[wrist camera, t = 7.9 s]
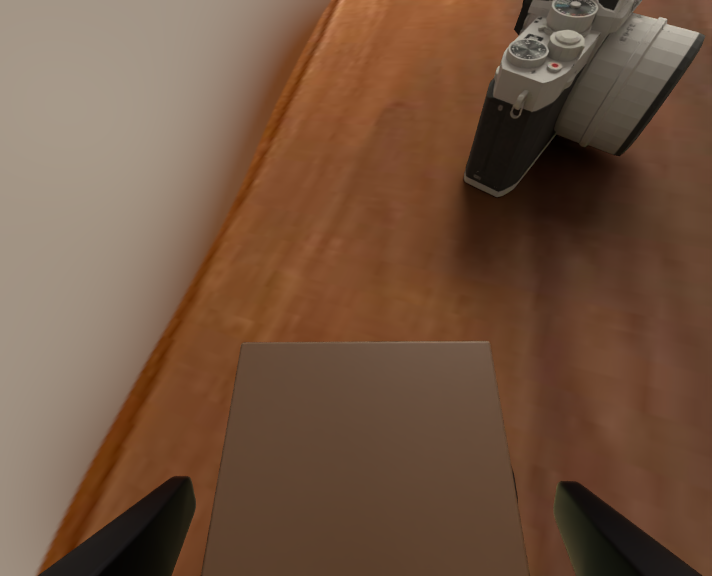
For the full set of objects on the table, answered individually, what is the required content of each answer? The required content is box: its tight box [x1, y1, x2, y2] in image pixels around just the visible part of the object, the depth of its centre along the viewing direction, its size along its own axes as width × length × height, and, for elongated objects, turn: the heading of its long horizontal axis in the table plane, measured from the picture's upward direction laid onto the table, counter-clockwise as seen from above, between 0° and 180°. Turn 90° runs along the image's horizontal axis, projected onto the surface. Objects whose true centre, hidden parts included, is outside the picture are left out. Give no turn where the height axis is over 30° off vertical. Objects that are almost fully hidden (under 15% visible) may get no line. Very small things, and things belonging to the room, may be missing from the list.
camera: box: [464, 0, 705, 197], centre depth 21 cm, size 16×9×10 cm, turn 141°
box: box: [201, 341, 530, 576], centre depth 11 cm, size 11×11×8 cm
